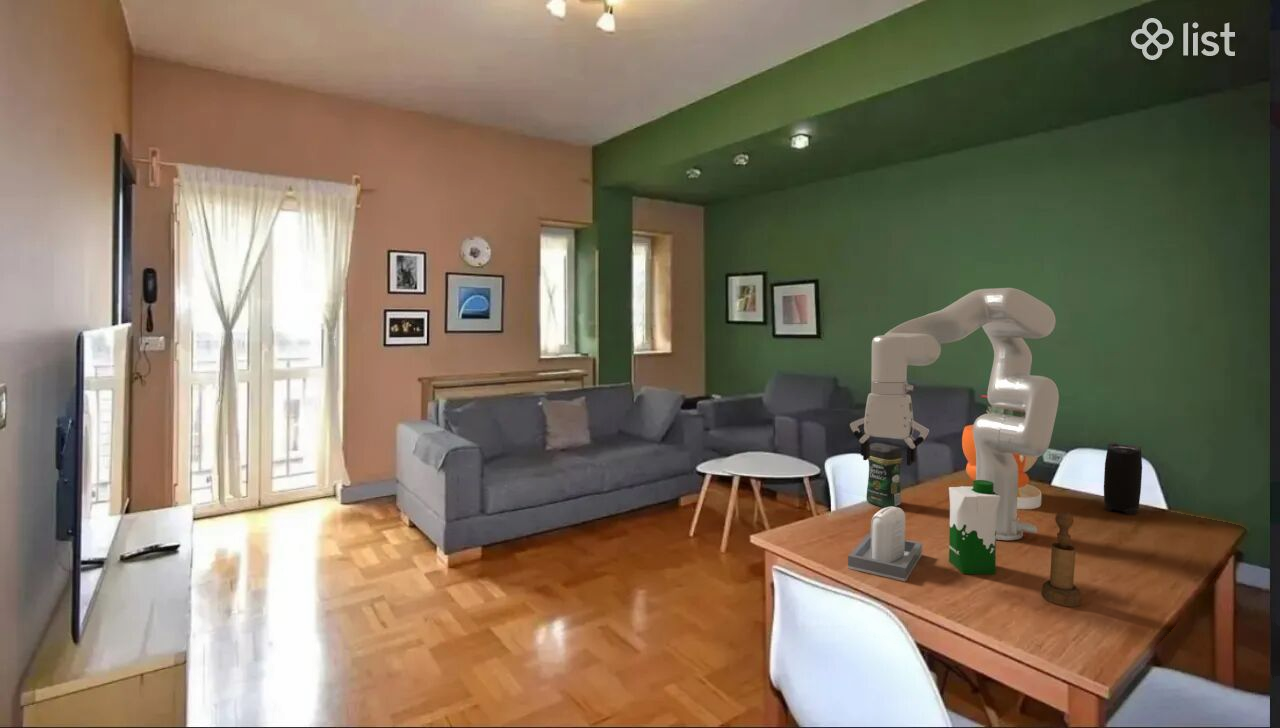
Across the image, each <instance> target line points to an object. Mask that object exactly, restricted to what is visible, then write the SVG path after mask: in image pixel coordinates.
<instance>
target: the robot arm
mask: <svg viewBox="0 0 1280 728" xmlns="http://www.w3.org/2000/svg"><path fill="white" fill-rule="evenodd" d="M1056 320H1057V319H1056V315H1055V312H1054V311H1053V309H1052V307H1050V306H1049V305H1048V304H1047V303H1045V302H1043V301H1042V300H1039V299H1038V298H1036V297H1035V296H1033V295H1031V294H1029V293H1027V292H1025V291H1023V290H1021V289H1018V288H1013V287H997V288H980V289H976V290H973V291H970V292H969V293H967V294H966V295H964V296H962V297H960V298H959V299H958V300H956V301H954V302H952V303H951V304H949V305H947V306H946V307H944V308H943V309H940V310H937V311H934V312H931V313H927V314H925V315H922V316H919V317H916V318H913V319H910V320H907V321H904V322H903V323H900V324H898V325H897V326H895V327H893V328H891V329H890V330H888V331H886V333H884V335H881V334H880V335H876V336H874V337H873V338H872V341H871V376H870V377H871V381H870V382H871V387H870V389H871V390H870V391H871V392H870V393H868V394H867V399H866V405H865V411H864V413H865V414H864V417H862V418H859V419H857V420H854V421H851V422H850V423H849V427H850V429H851V431H852V432H853V435H854V436H855V437H856V439H857V440H858V441H859V443H860V454H861V456H862V459H863V461H868V459H869V458H870V444H871V442H870V441H869V439H870V438H872V437H874V438H884V439H893V440H894V439H895V440H903V441H904V442H905V443H906V444H907V446H908V447H907V448H906V465H907V466H910V467H911V466H912V465H913V463H914V462H916V457H917V454H916V453H917V447H918V446H919V445H920V444H921V443H923V442H924V441H925V439H926V437H927V436H928V434H929V433H930V429H929V428H927V427H926V426H924V425H922V424H921V423H919V422H916V421H915V420H914V413H913V410H914V409H913V402H912V398H911V395H910V394H907V393H908V392H914V385H912V384H910V383H908V380H907V379H908V377H907V375H908V374H907V372H908V370H907V369H908V366H917V367H925V366H929V365H932V364H933V363H935V362H937V360H938V359H939V357H940V355H941V353H942V346H941V344H949V343H954V342H958V341H960V340H962V339H965V338H966V337H967V336H969V335H970V334H972V333H973V332H976V331H977V330H978V329H980V328H981V327H982V329H983V331H984V332H985V334H986V335H987V337H988V339H989V341H990V343H991V345H992V349H993V354H994V355H993V362H992V368H991V371H990V376H989V383H988V387H987V395H986V396H987V398H986V399H987V401H988V403H989V404H990V406H994V407H997V408H1000V409H1006V410H1013V411H1020V412H1026V414H1025V418H1024V417H1017V416H1011V415H1005V414H997V413H988V412H987V413H984V414H982V415H980V416H978V417H977V418H976V419H975V420H974V423H973V424H972V425H973V438H974V443H975V448H976V480H986V481H990V482H993V483H994V487H993V489H994V490H993V491H994V492H995V493H996V494H998V495H999V496H1000V501H999V505H998V510H997V523H996V541H997V540H998V541H1015V540H1020V539H1022V538H1023V536H1024V532H1027V533H1029V534H1037V533H1038V532H1037V531H1038V529H1037V528H1038V525H1033V523H1031V522H1022V520H1019V518H1020V517H1019V515H1017V514H1018V513H1017V510H1018V509H1017V490H1018V466H1017V463H1016V461H1015V459H1014V457H1013V455H1012V454H1017V455H1022V456H1027V457H1038V458H1039V457H1041V456H1043V455H1044V454H1045V453H1046V452H1047V451H1048V449H1049V447H1050V444H1051V440H1052V436H1053V431H1054V425H1055V422H1056V421H1055V420H1056V418H1057V417H1056V416H1057V412H1058V408H1059V401H1060V400H1059V399H1060V395H1059V389H1058V387H1057V384H1056V383H1055V382H1054V380H1052V379H1051V378H1050V377H1049V378H1048V377H1046V376H1043V375H1034V374H1033V375H1031V368H1032V362H1033V357H1032V351H1031V349H1030V348H1029V346H1028V344H1027V343H1026V341H1025V340H1024V339H1041V338H1046V337H1047V336H1049V335H1050V334H1051V333H1052V332H1053V331H1054V329H1055V327H1056ZM861 425H864V426H863V430H864V434H863V433H862V431H861V430H860V429H859V426H861ZM914 430H915V431H918V432H919V433H920V434H919V435H918V437H917V438H916V439H915V438H914V437H913V434H914Z"/></svg>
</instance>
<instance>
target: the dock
mask: <svg viewBox="0 0 1280 728" xmlns="http://www.w3.org/2000/svg"><path fill="white" fill-rule="evenodd" d="M870 550H871V532H868V533H867V535H865V537H864V538H863V539H862V540H861V541H860V543H858V544H857V545H856V547H854V548H853V550H851V552H850V553H849V554H848V555H847V568H848V569H850V570H854V571H857V572H858V571H859V572H863V573H867V574H872V575H874V576H875V575H876V576H881V577H884V578H889V579H893V580H897V581H901V582H906V581H907V580H908V577H909V576H910V575H911V573H912V571H913V570H914V568H915V566H916V565H917V563H918V562H919V560H920V559H921V557H922V556H923V555H922V554H923V543H922V542H920V541H914V540H910V539H905V553H904V556H903V557H901V558H899V559H897V560H895V561H893V562H891V563H889V562H885V561H880V560H875V559H871V558H870Z"/></svg>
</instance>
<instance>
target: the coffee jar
mask: <svg viewBox="0 0 1280 728" xmlns="http://www.w3.org/2000/svg"><path fill="white" fill-rule="evenodd" d="M902 453H903V452H902V449H901V447H899V446H896V445H891V444H887V443H883V442H882V443H880V442H873V443H870V458H869V459H867V461H868V477H867V478H868V479H867V489H866V501H867V502H868V503H870V504H872V505H875V506H878V507H881V508H886V507H891V506H893V507H897V508H898V507H899V506H901V504H902V492H901V475H900V473H901V464H902V462H903V454H902Z"/></svg>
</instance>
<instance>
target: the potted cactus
mask: <svg viewBox="0 0 1280 728" xmlns="http://www.w3.org/2000/svg"><path fill="white" fill-rule="evenodd" d="M979 397H980V398H985V399H988V398H987V395H986V394H985V395H980V396H979ZM985 412H986V413H987V414H988V413H997V414H1005V415H1011V416H1017V417H1024V418H1025V414H1026V412H1020V411H1013V410H1006V409H1000V408H997V407H994V406H992V405H990V406H988V410H986V411H985ZM973 425H974V424H970V425H966V426H964V428H963V431H962V439H961V444H962V445H961V446H962V450H963V451H962V452H963V455H964V456H965V458H966V460H967V463H966V468H965V471H966V474H967V475H968V477H969V478H971V480H972V481H975V480H976V448H975V443H974V438H973ZM1012 455H1013V457H1014V459H1015V461H1016V463H1017V466H1018V490H1017V510H1032V509H1033V510H1035V509H1037V508H1038V509H1039V508H1040V507H1041V505H1042V494H1043V493H1042V491H1041V490H1040V488H1037V487H1036V486H1034V485H1031V484H1029V482H1030V477H1029V475H1028V474H1027V473H1026V472H1027V471H1029V470H1030V469H1031V468H1032V467H1033V466H1034V465H1035V463H1036V462H1037V460H1038V458H1039V457H1027V456H1022V455H1017V454H1012Z"/></svg>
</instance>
